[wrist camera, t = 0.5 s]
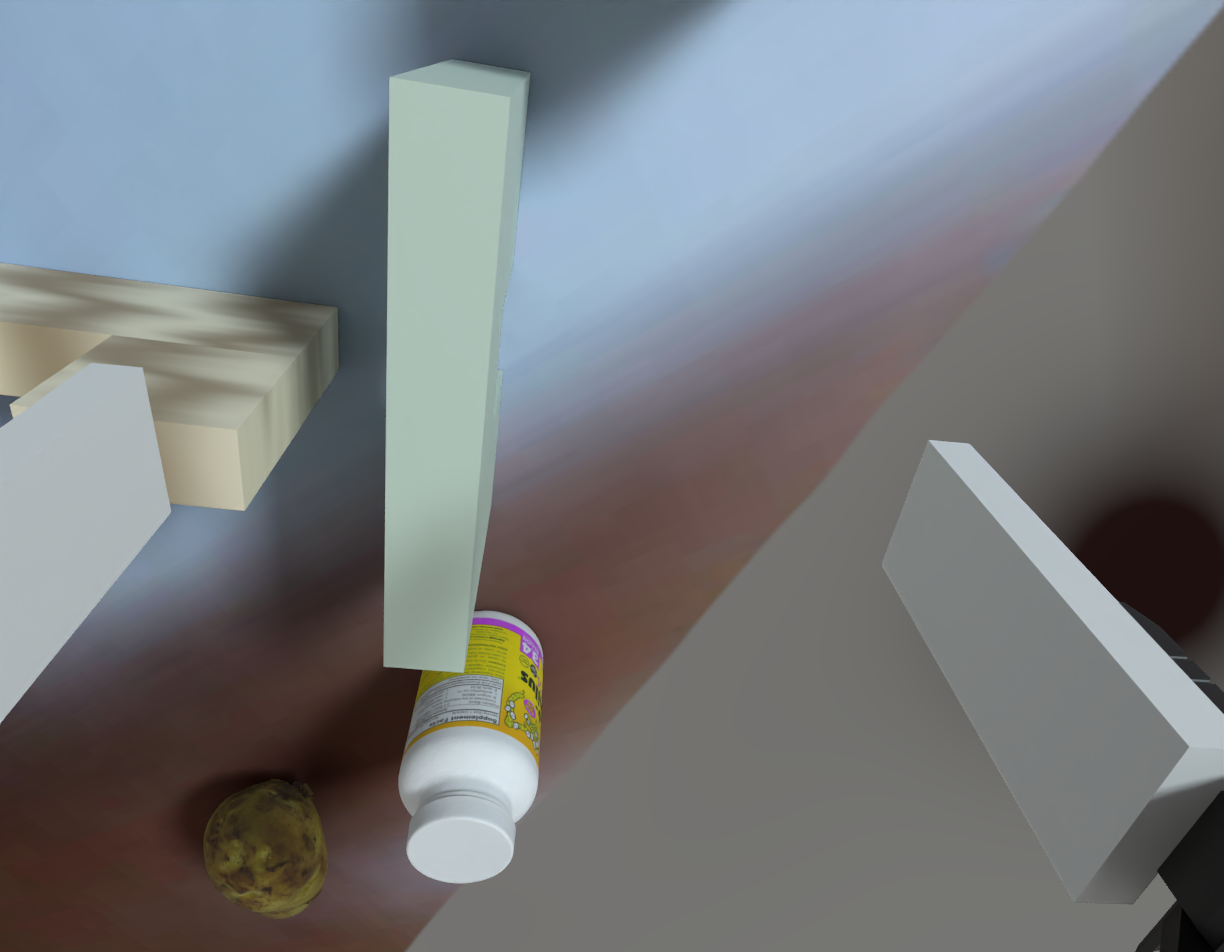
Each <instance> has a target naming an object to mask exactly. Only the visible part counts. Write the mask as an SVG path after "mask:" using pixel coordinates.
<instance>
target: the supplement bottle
mask: <svg viewBox="0 0 1224 952" xmlns="http://www.w3.org/2000/svg"><path fill="white" fill-rule="evenodd" d="M542 679H543V653H542V648H541V645H540V642H539V640H538V638H537V636H536V635H535V633H534V632H533V631H532V630H531V629H530V628H529V627H528V626H527V625H526V624H525V623H523V622H522V621H520V620H519V619H517V618H515V617H513V616H510V615H508V614H504V613H501V612H496V611H474V613H473V620H472V626H471V632H470V638H469V644H468V650H467V657H466V663H465V669H464V673H459V672H446V671H433V670H422V675H421V679H420V684H419V688H418V693H417V697H416V701H415V706H414V710H413V715H412V719H411V724H410V728H409V732H408V737H407V741H406V746H405V750H404V754H403V758H402V763H401V768H400V772H399V792H400V796H401V799H402V802H403V804H404V806H405V807H406V809H407V810H408V812H409V813H410V814H411V815H412V816H413V817H412V819H411V821H410V827H409V834H408V840H407V846H406V850H407V856H408V858H409V860H410V862H411V864H412V865H413V866H414V867H415V868H416V869H417V870H418V871H419V872H421V873H422V874H424V875H426V876H428V877H430V878H433V879H435V880H439V881H443V882H449V883H470V882H476V881H481V880H485V879H488V878H490V877H492V876H495V875H496V874H498V873H499V872H501V871H502V870H503V869H504V868H505V867H506V866H507V865H508V864H509V862H510V861H511V859H512V856H513V852H514V840H515V839H514V838H515V824H514V823H515V822H517V821H518V820H519V819H520V818H521V817H522V816H523V815H524V814H525V813H526V812H527V810H528V809H529V808H530V806H531V804H532V802H533V800H534V798H535V795H536V792H537V786H538V774H539V746H540V728H541V707H542V705H541V702H542Z"/></svg>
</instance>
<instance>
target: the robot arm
mask: <svg viewBox="0 0 1224 952" xmlns="http://www.w3.org/2000/svg"><path fill="white" fill-rule="evenodd" d="M170 513H171V508H170V503H169V498H168V493H167V488H166V483H165V478H164V473H163V468H162V463H161V458H160V453H159V448H158V442H157V437H156V432H155V427H154V422H153V417H152V412H151V407H150V402H149V397H148V392H147V387H146V382H145V377H144V372H143V367H132V366H121V365H111V364H100V363H90V364H89V365H87V366H86V367H85V368H83V369H82V370H80V371H79V372H78V373H76V374H75V375H73V376H72V377H71V378H69V379H68V380H67V381H65V382H64V383H62V384H61V385H60V386H58V387H57V388H55V389H54V390H53V391H51V392H50V393H48V394H47V395H46V396H44V397H43V398H41V399H40V400H39V401H37V402H36V403H34V404H33V405H32V406H30V407H29V408H27V409H26V410H25V411H23V412H22V413H20V414H19V415H18V416H16V417H15V418H13V419H12V420H11V421H9V422H8V423H6V424H5V425H4V426H2V427H1V428H0V723H1V722H2V721H3V719H4V718H5V717H6V716H7V714H8V713H9V712H10V711H11V709H12V708H13V707H14V706H15V704H16V703H17V702H18V701H19V700H20V698H21V697H22V696H23V695H24V693H25V692H26V691H27V690H28V688H29V687H30V686H31V685H32V683H33V682H34V681H35V680H36V679H37V677H38V676H39V675H40V674H41V672H42V671H43V670H44V669H45V667H46V666H47V665H48V664H49V663H50V661H51V660H52V659H53V658H54V656H55V655H56V654H57V653H58V651H59V650H60V649H61V648H62V646H63V645H64V644H65V643H66V642H67V640H68V639H69V638H70V637H71V635H72V634H73V633H74V632H75V630H76V629H77V628H78V627H79V626H80V624H81V623H82V622H83V621H84V619H85V618H86V617H87V616H88V614H89V613H90V612H91V611H92V609H93V608H94V607H95V606H96V605H97V603H98V602H99V601H100V600H101V598H102V597H103V596H104V595H105V593H106V592H107V591H108V590H109V588H110V587H111V586H112V585H113V584H114V582H115V581H116V580H117V579H118V577H119V576H120V575H121V574H122V572H123V571H124V570H125V569H126V568H127V566H128V565H129V564H130V563H131V561H132V560H133V559H134V558H135V556H136V555H137V554H138V553H139V551H140V550H141V549H142V548H143V547H144V545H145V544H146V543H147V542H148V540H149V539H150V538H151V537H152V535H153V534H154V533H155V532H156V531H157V529H158V528H159V527H160V526H161V524H162V523H163V522H164V521H165V519H166V518H167V517H168V516H169V514H170ZM882 567H883V569H884V570H885V572H886V574H887V576H888V577H889V579H890V581H891V583H892V584H893V586H894V588H895V590H896V591H897V593H898V595H899V596H900V598H901V600H902V602H903V604H904V605H905V607H906V609H907V611H908V612H909V614H910V616H911V618H912V620H913V621H914V623H915V625H916V627H917V628H918V630H919V632H920V634H921V635H922V637H923V639H924V641H925V642H926V644H927V646H928V647H929V649H930V651H931V653H932V655H933V656H934V658H935V660H936V662H937V663H938V665H939V667H940V669H941V670H942V672H943V674H944V675H945V677H946V679H947V681H948V683H949V684H950V686H951V688H952V690H953V691H954V693H955V695H956V696H957V698H958V700H959V702H960V704H961V705H962V707H963V709H964V711H965V712H966V714H967V716H968V718H969V719H970V721H971V723H972V725H973V727H974V728H975V730H976V732H977V733H978V735H979V737H980V739H981V740H982V742H983V744H984V746H985V747H986V749H987V751H988V753H989V755H990V756H991V758H992V760H993V761H994V763H995V765H996V767H997V769H998V770H999V772H1000V774H1001V776H1002V777H1003V779H1004V781H1005V783H1006V784H1007V786H1008V788H1009V790H1010V791H1011V793H1012V795H1013V797H1014V798H1015V800H1016V802H1017V804H1018V805H1019V807H1020V809H1021V811H1022V812H1023V814H1024V816H1025V818H1026V819H1027V821H1028V823H1029V825H1030V826H1031V828H1032V830H1033V832H1034V834H1035V835H1036V837H1037V839H1038V841H1039V842H1040V844H1041V846H1042V848H1043V849H1044V851H1045V853H1046V854H1047V856H1048V858H1049V860H1050V862H1051V863H1052V865H1053V867H1054V869H1055V870H1056V872H1057V874H1058V875H1059V877H1060V879H1061V881H1062V882H1063V884H1064V886H1065V888H1066V890H1067V891H1068V893H1069V895H1070V897H1071V898H1072V900H1073V902H1074V903H1099V904H1134V902H1135V901H1136V900H1137V899H1138V898H1139V896H1140V895H1141V894H1142V893H1143V891H1144V890H1145V888H1147V886H1148V885H1149V884H1150V883H1151V881H1152V880H1153V879H1154V878H1155V876H1156V875H1157V874H1158V873H1159V875H1160V876H1161V877H1162V879H1163V880H1164V882H1165V883H1166V885H1167V886H1168V888H1169V889H1170V891H1171V892H1172V893H1173V895H1174V896H1175V898H1176V899H1177V901H1176V902H1175V903H1174V904H1173V905H1172V907H1171V908H1170V909H1169V910H1168V911H1167V912H1166V914H1165V915H1164V916H1163V917H1162V918H1161V920H1160V921H1159V922H1158V923H1157V924H1156V925H1155V927H1154V928H1153V929H1152V930H1151V931H1150V932H1149V933H1148V935H1147V936H1146V937H1145V938H1144V939H1143V941H1142V942H1141V943H1140V944H1139V945H1138V947H1137V949H1136V951H1135V952H1153V951H1158V950H1160V952H1224V692H1223V691H1222V690H1221V689H1220V688H1219V687H1218V686H1217V685H1216V684H1210V681H1209V680H1210V678H1209V677H1208V676H1207V675H1206V674H1205V673H1204V672H1203V671H1202V670H1201V669H1200V668H1199V666H1197V664H1195V662H1194V661H1188V659H1187V656H1188V655H1187V654H1186V653H1185V652H1184V651H1183V650H1182V649H1181V648H1180V647H1179V646H1178V645H1177V644H1176V643H1175V642H1174V641H1173V640H1172V639H1171V638H1170V637H1169V636H1168V635H1167V634H1166V633H1165V631H1163V629H1161V628H1160V627H1159V626H1158V625H1156V624H1155V623H1153V622H1152V621H1150V620H1149V619H1147V618H1146V617H1145V616H1143V615H1142V614H1140V613H1139V612H1137V611H1136V610H1134V609H1133V608H1131V607H1130V606H1129V605H1127V604H1126V603H1124V602H1118V601H1117V600H1116V599H1115V598H1114V597H1113V596H1112V595H1111V594H1110V593H1109V592H1108V591H1107V590H1106V589H1105V588H1104V586H1102V584H1101V583H1100V582H1099V581H1098V580H1097V579H1096V578H1095V577H1094V576H1093V575H1092V574H1091V573H1090V572H1089V570H1087V568H1086V567H1085V566H1084V565H1083V564H1082V563H1081V562H1080V561H1079V560H1078V559H1077V558H1076V557H1075V556H1074V555H1073V553H1072V552H1071V551H1070V550H1069V549H1068V548H1067V547H1066V546H1065V545H1064V544H1063V543H1062V542H1061V541H1060V540H1059V539H1058V538H1057V536H1056V535H1055V534H1054V533H1053V532H1052V531H1051V530H1050V529H1049V528H1048V527H1047V526H1046V525H1045V524H1044V523H1043V522H1042V521H1041V520H1040V518H1039V517H1038V516H1037V515H1036V514H1035V513H1034V512H1033V511H1032V510H1031V509H1030V508H1029V507H1028V506H1027V505H1026V503H1025V502H1024V501H1023V500H1022V499H1021V498H1020V497H1019V496H1018V495H1017V494H1016V493H1015V492H1014V491H1013V490H1012V489H1011V488H1010V486H1009V485H1008V484H1006V482H1005V481H1004V480H1003V479H1002V478H1001V477H1000V476H999V475H998V474H997V473H996V472H995V471H994V469H993V468H992V467H991V466H990V465H989V464H988V463H987V462H986V461H985V460H984V459H983V458H982V457H981V456H980V455H979V454H978V453H977V452H976V450H975V449H974V448H973V447H972V446H971V445H970V444H966V443H955V442H944V441H933V440H928V442H927V445H926V448H925V451H924V453H923V456H922V459H921V461H920V464H919V466H918V469H917V471H916V474H915V477H914V479H913V482H912V485H911V487H910V490H909V493H908V495H907V498H906V501H905V503H904V506H903V509H902V511H901V514H900V517H899V519H898V522H897V525H896V527H895V530H894V533H893V535H892V538H891V541H890V543H889V546H888V549H887V551H886V554H885V557H884V559H883V562H882Z"/></svg>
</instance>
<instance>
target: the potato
mask: <svg viewBox="0 0 1224 952" xmlns="http://www.w3.org/2000/svg"><path fill="white" fill-rule="evenodd" d="M312 795H314V793H313V792H312V790H311V789H310V787H309V786H308V785H307V784H306V783H304V784H302V783H299V782H293V785H291V784H289V783H288V782H286V781H282V780H279V779H272V778H271V779H270V780H269V781H266V782H262V783H259V784H255V785H252V786H249V787H247V788H246V789H244V790H241V791H239V792H236V793H234V794H232V795H230V796H229V797H228V798H226V799H224V800H222V801H221V803H220V805H219V806H218V808H217V809H216V810H215V812H214V813H213V814H212V816H211V818H210V820H209V822H208V824H207V826H206V830H205V834H204V858H205V864H206V869H207V872H208V874H209V877H210V879H211V881H212V883H213V884H214V885H215V888H216V889H217V890H218V891H220V892H221V893H222V894H223V895H224V896H225V897H226V898H228V899H229V900H230V901H231V902H233V903H234V904H236V905H237V906H239V907H241V908H244V909H247V910H250V911H254V912H256V913H258V914H260V915H262V916H265V917H269V918H276V919H281V918H288V917H291V916H294V915H296V914H298V913H300V912H301V911H303V910H304V909H305V908H306V907H308V906H309V904H310V903H311V902H312V901H313V900H314V899H315V898H316V896H318V895H319V894H320V892H321V890H322V885H323V882H324V880H325V878H326V872H327V865H328V856H327V848H326V842H325V838H324V834H323V828H322V823H321V820H320V817H319V814H318V812H317V810H316V808H315V806H314V804H313V802H312V800H311V799H313V798H314V797H312Z"/></svg>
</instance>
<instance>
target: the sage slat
mask: <svg viewBox="0 0 1224 952" xmlns="http://www.w3.org/2000/svg"><path fill="white" fill-rule="evenodd" d="M530 75H531V72H526V71H520V70H514V69H508V68H502V67H496V66H491V65H485V64H479V63H473V62H467V61H462V60H456V59H451V60H447V61H444V62H440V63H437V64H433V65H430V66H426V67H423V68H419V69H416V70H412V71H409V72H405V73H402V74H398V75H395V76H391V77H389V171H388V272H387V373H386V474H385V575H384V667H395V668H407V669H420V670H433V671H446V672H459V673H464V669H465V663H466V657H467V650H468V644H469V638H470V632H471V626H472V620H473V613H474V607H475V601H476V595H477V589H478V583H479V576H480V570H481V564H482V558H483V552H484V546H485V539H486V533H487V527H488V521H489V515H490V509H491V501H492V490H493V479H494V468H495V457H496V447H497V436H498V425H499V414H500V403H501V392H502V381H503V370H499V369H498V359H499V348H500V337H501V325H502V314H503V306H504V301H505V297H506V293H507V289H508V284H509V280H510V276H511V271H512V267H513V261H514V250H515V239H516V228H517V217H518V206H519V195H520V184H521V173H522V162H523V151H524V140H525V129H526V119H527V108H528V97H529V86H530Z"/></svg>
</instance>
